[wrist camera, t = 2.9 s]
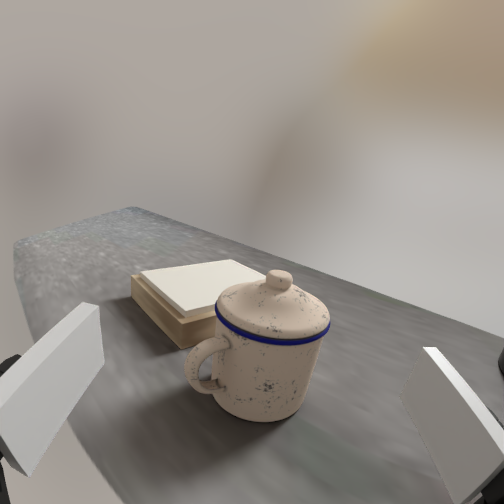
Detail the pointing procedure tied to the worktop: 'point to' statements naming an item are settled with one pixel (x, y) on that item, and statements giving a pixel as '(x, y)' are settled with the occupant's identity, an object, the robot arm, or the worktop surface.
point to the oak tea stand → (188, 297)
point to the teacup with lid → (261, 348)
